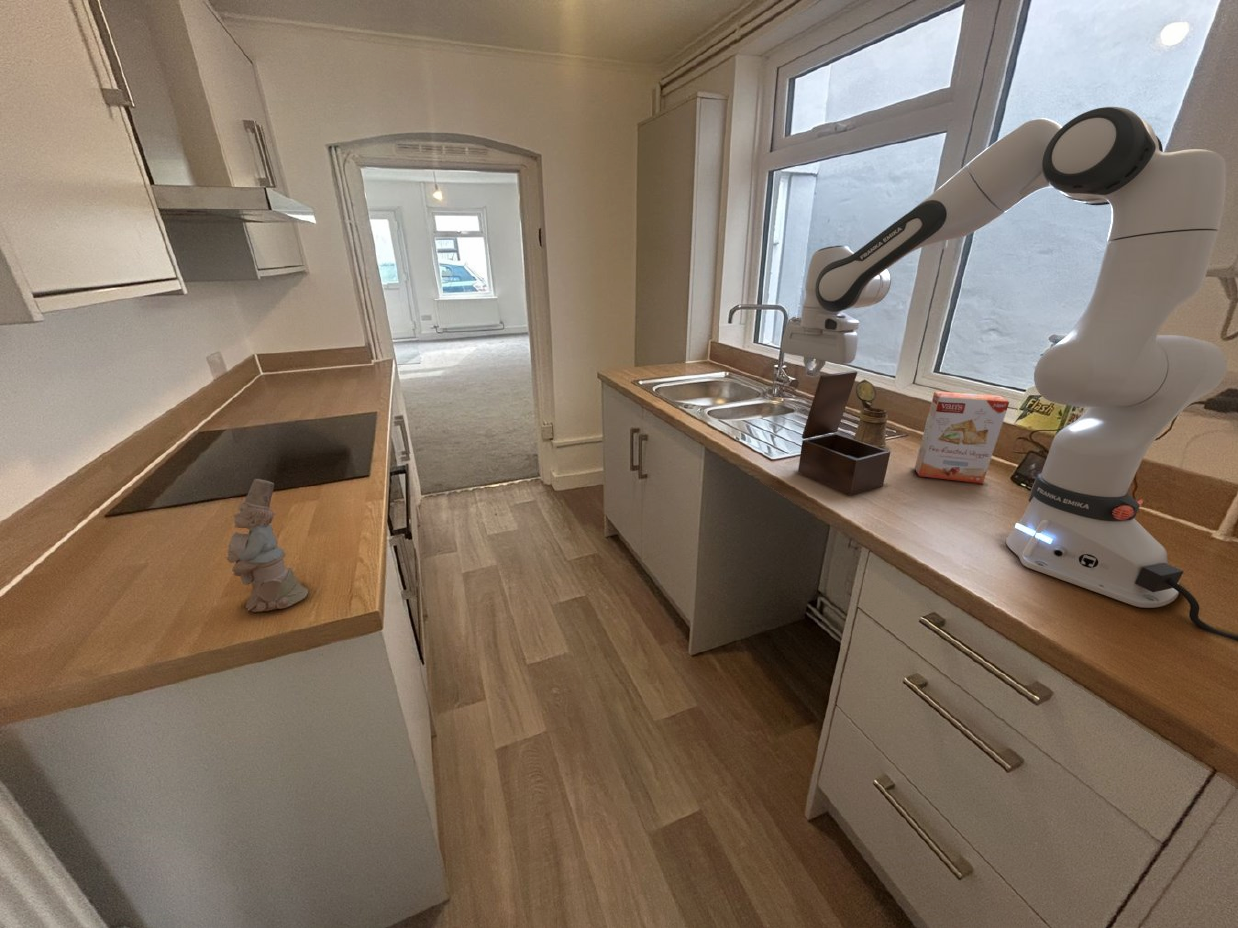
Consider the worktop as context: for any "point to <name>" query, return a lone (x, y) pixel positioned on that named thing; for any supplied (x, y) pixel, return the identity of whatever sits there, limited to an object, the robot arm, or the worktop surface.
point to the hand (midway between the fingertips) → (812, 376)
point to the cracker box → (960, 436)
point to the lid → (829, 403)
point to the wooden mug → (870, 417)
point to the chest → (843, 463)
